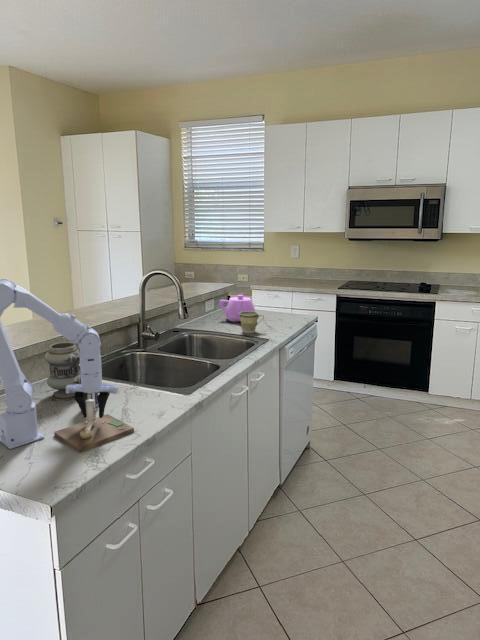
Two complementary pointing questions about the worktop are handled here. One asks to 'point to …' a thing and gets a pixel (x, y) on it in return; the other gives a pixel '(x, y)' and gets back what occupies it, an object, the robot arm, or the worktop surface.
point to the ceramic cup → (249, 321)
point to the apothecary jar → (63, 368)
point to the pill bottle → (94, 396)
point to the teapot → (237, 307)
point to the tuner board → (94, 433)
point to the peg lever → (89, 418)
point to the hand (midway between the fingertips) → (93, 416)
